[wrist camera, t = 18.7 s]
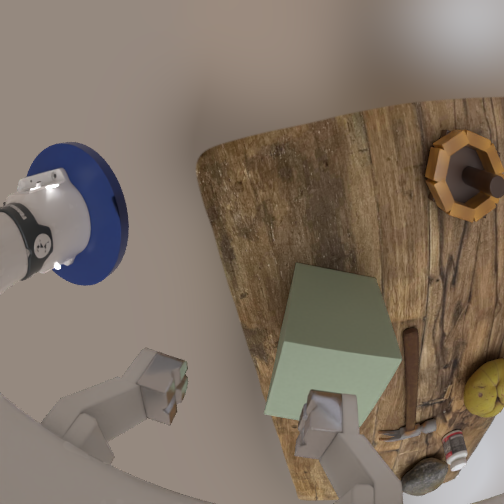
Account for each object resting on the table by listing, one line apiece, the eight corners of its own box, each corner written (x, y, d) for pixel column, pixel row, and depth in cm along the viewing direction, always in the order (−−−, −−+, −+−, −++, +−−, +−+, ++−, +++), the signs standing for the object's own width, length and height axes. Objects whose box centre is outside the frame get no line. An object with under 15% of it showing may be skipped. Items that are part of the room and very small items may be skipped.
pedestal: (281, 328, 43) (263, 414, 29) (296, 262, 39) (283, 340, 24) (352, 341, 42) (359, 427, 27) (375, 277, 37) (402, 359, 23)
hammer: (447, 325, 35) (435, 433, 44) (441, 315, 38) (433, 423, 46) (368, 347, 39) (379, 447, 48) (366, 335, 42) (378, 437, 50)
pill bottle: (442, 434, 48) (449, 467, 39) (462, 426, 46) (471, 458, 37) (440, 443, 49) (447, 475, 40) (460, 436, 47) (468, 467, 39)
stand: (428, 198, 32) (456, 217, 24) (441, 129, 28) (474, 131, 21) (480, 215, 31) (513, 236, 23) (494, 151, 27) (531, 160, 19)
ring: (418, 202, 31) (426, 208, 29) (434, 120, 27) (444, 120, 24) (481, 221, 30) (491, 228, 27) (497, 147, 26) (509, 149, 23)
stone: (437, 466, 56) (441, 493, 48) (396, 477, 60) (399, 505, 51) (450, 447, 49) (456, 478, 40) (403, 460, 52) (407, 494, 44)
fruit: (499, 380, 40) (514, 414, 31) (452, 396, 43) (464, 435, 34) (511, 340, 36) (533, 375, 27) (461, 357, 39) (479, 398, 30)
